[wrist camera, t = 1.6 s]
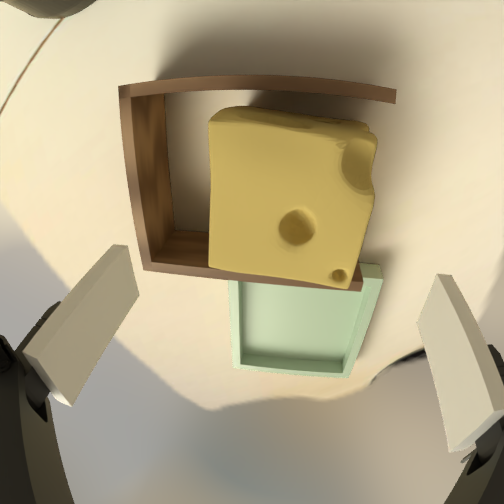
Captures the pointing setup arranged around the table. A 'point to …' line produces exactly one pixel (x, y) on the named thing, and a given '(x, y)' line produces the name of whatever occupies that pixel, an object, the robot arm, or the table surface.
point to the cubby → (158, 180)
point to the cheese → (289, 194)
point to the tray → (300, 326)
